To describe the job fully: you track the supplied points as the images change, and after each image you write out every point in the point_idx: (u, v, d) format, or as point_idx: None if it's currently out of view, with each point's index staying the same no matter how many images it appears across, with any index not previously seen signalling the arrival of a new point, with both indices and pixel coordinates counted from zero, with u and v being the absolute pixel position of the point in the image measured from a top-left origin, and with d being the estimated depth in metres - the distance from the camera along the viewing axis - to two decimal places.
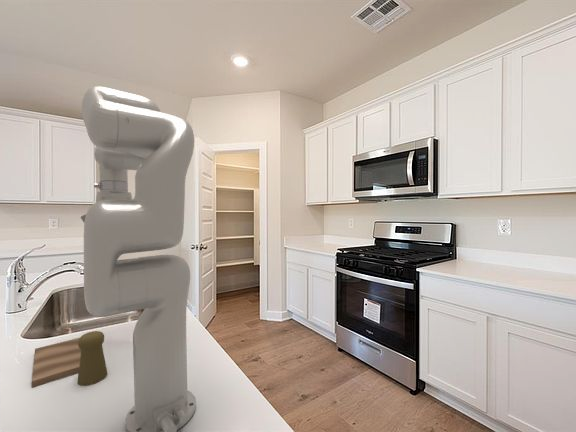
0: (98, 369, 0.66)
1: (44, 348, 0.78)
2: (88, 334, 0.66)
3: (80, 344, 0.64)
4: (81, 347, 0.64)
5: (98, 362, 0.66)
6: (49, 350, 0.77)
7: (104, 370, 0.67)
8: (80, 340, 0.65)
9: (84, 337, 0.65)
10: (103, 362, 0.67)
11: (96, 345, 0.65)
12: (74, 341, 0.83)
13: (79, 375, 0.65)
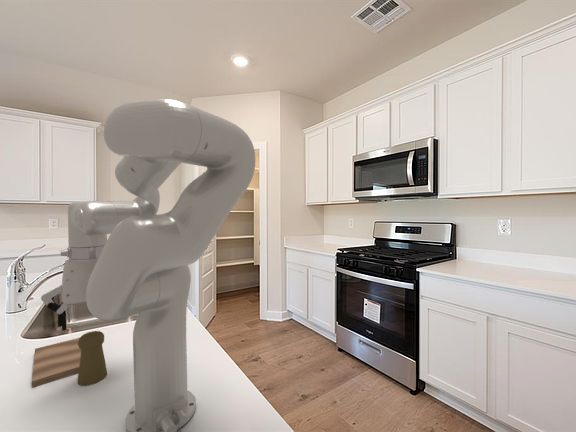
0: (98, 369, 0.66)
1: (44, 348, 0.78)
2: (88, 334, 0.66)
3: (80, 344, 0.64)
4: (81, 347, 0.64)
5: (98, 362, 0.66)
6: (49, 350, 0.77)
7: (104, 370, 0.67)
8: (80, 340, 0.65)
9: (84, 337, 0.65)
10: (103, 362, 0.67)
11: (95, 345, 0.65)
12: (74, 341, 0.83)
13: (79, 375, 0.65)
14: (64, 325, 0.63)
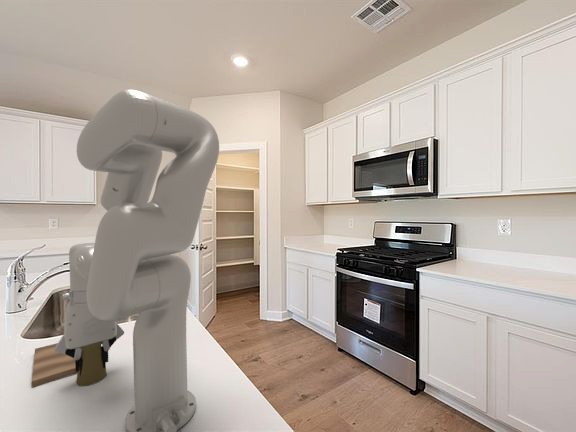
0: (97, 369, 0.66)
1: (44, 348, 0.78)
2: None
3: None
4: (80, 347, 0.64)
5: (97, 362, 0.66)
6: (49, 350, 0.77)
7: (103, 370, 0.67)
8: None
9: None
10: (102, 362, 0.67)
11: (95, 345, 0.65)
12: None
13: (78, 375, 0.64)
14: None
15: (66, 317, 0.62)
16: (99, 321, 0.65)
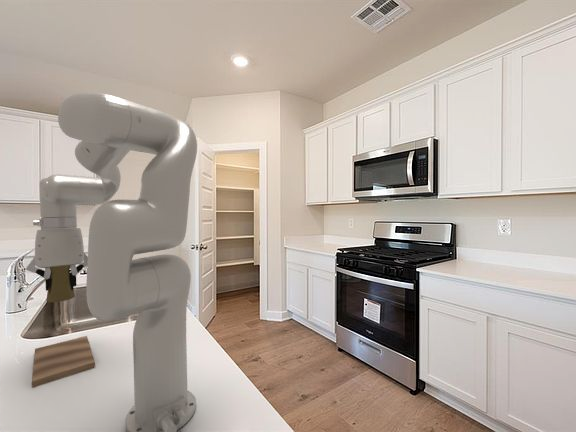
0: (65, 289, 0.74)
1: (44, 348, 0.78)
2: None
3: None
4: None
5: (65, 283, 0.74)
6: (49, 350, 0.77)
7: (71, 292, 0.75)
8: None
9: None
10: None
11: (63, 268, 0.73)
12: (74, 341, 0.83)
13: (48, 293, 0.73)
14: None
15: (36, 239, 0.70)
16: (67, 246, 0.74)
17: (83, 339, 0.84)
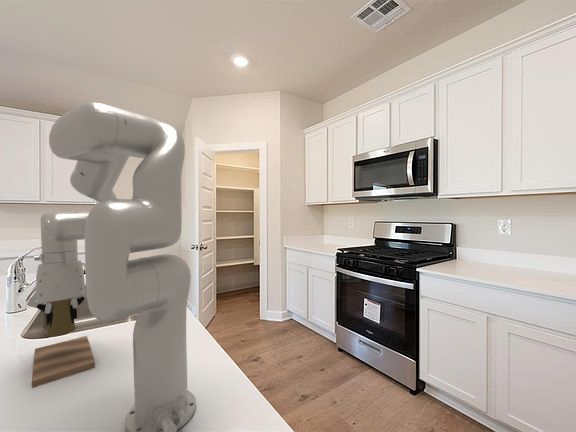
0: (66, 323, 0.74)
1: (44, 348, 0.78)
2: None
3: None
4: None
5: (65, 317, 0.74)
6: (49, 350, 0.77)
7: (72, 325, 0.76)
8: None
9: None
10: None
11: (63, 302, 0.74)
12: (74, 341, 0.83)
13: (48, 327, 0.73)
14: (51, 323, 0.73)
15: (37, 275, 0.71)
16: (67, 280, 0.74)
17: (83, 339, 0.84)
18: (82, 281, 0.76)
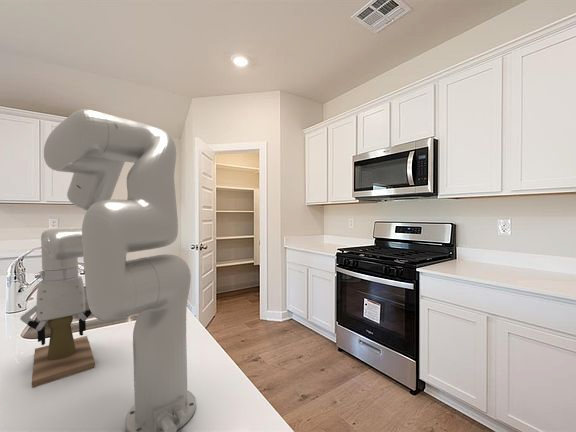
0: (66, 346, 0.74)
1: (44, 348, 0.78)
2: None
3: (49, 323, 0.73)
4: (50, 326, 0.73)
5: (65, 340, 0.74)
6: None
7: (72, 347, 0.76)
8: (49, 320, 0.73)
9: None
10: (71, 340, 0.76)
11: (63, 325, 0.74)
12: (74, 341, 0.83)
13: (49, 350, 0.73)
14: (43, 340, 0.72)
15: (38, 293, 0.71)
16: (68, 297, 0.74)
17: (83, 339, 0.84)
18: (83, 297, 0.76)
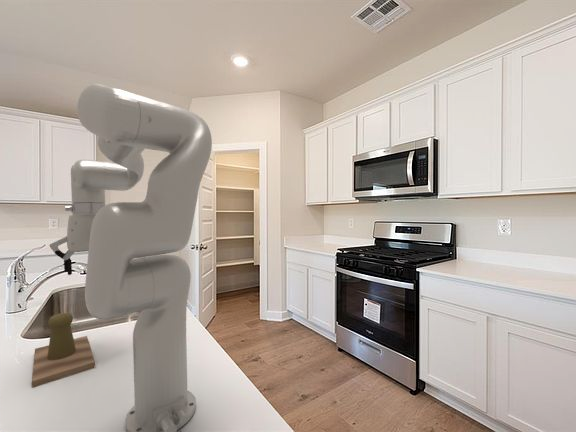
0: (66, 346, 0.74)
1: (44, 348, 0.78)
2: (57, 315, 0.75)
3: (49, 323, 0.73)
4: (50, 326, 0.73)
5: (65, 340, 0.74)
6: None
7: (72, 347, 0.76)
8: (50, 320, 0.73)
9: (53, 317, 0.73)
10: (71, 340, 0.76)
11: (63, 325, 0.74)
12: (74, 341, 0.83)
13: (49, 350, 0.73)
14: (70, 270, 0.72)
15: (69, 224, 0.72)
16: None
17: (83, 339, 0.84)
18: None
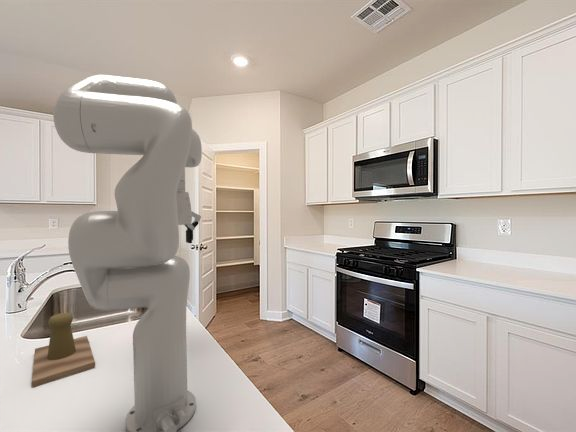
0: (66, 346, 0.74)
1: (44, 348, 0.78)
2: (57, 315, 0.75)
3: (49, 323, 0.73)
4: (50, 326, 0.73)
5: (65, 340, 0.74)
6: None
7: (72, 347, 0.76)
8: (50, 320, 0.73)
9: (53, 317, 0.73)
10: (71, 340, 0.76)
11: (63, 325, 0.74)
12: (74, 341, 0.83)
13: (49, 350, 0.73)
14: None
15: None
16: (180, 207, 0.81)
17: (83, 339, 0.84)
18: (190, 210, 0.84)
